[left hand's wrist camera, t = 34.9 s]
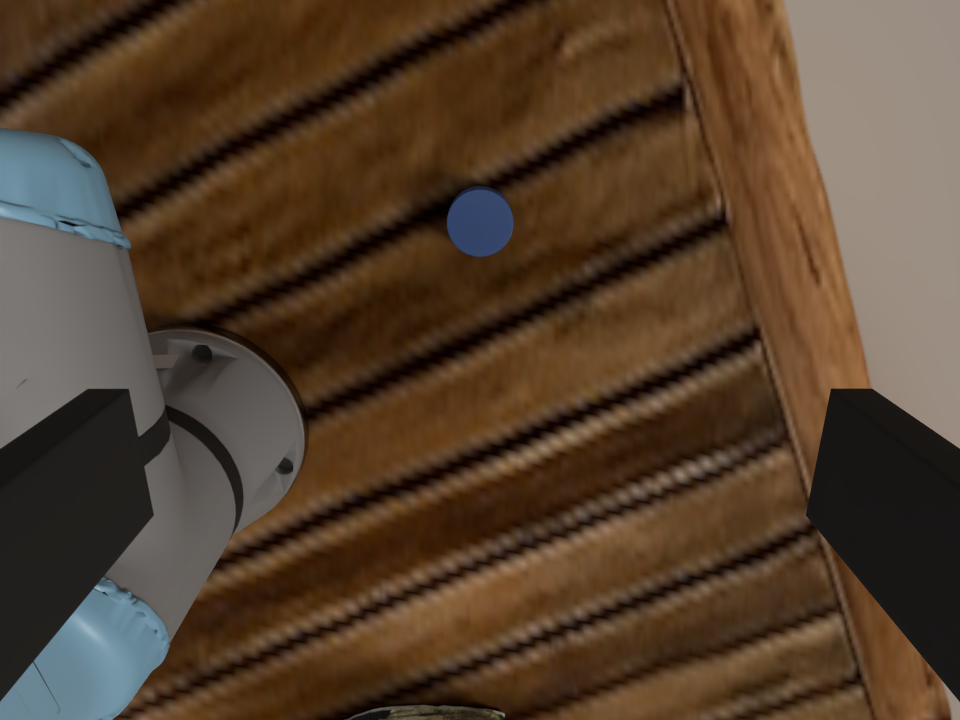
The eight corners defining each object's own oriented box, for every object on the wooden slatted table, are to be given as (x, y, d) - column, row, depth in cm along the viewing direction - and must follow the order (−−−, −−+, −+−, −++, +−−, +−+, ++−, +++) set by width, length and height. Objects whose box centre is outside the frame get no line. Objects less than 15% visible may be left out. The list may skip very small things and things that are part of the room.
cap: (488, 261, 43) (489, 269, 41) (436, 227, 42) (434, 233, 40) (523, 208, 42) (526, 213, 40) (470, 172, 41) (470, 175, 39)
